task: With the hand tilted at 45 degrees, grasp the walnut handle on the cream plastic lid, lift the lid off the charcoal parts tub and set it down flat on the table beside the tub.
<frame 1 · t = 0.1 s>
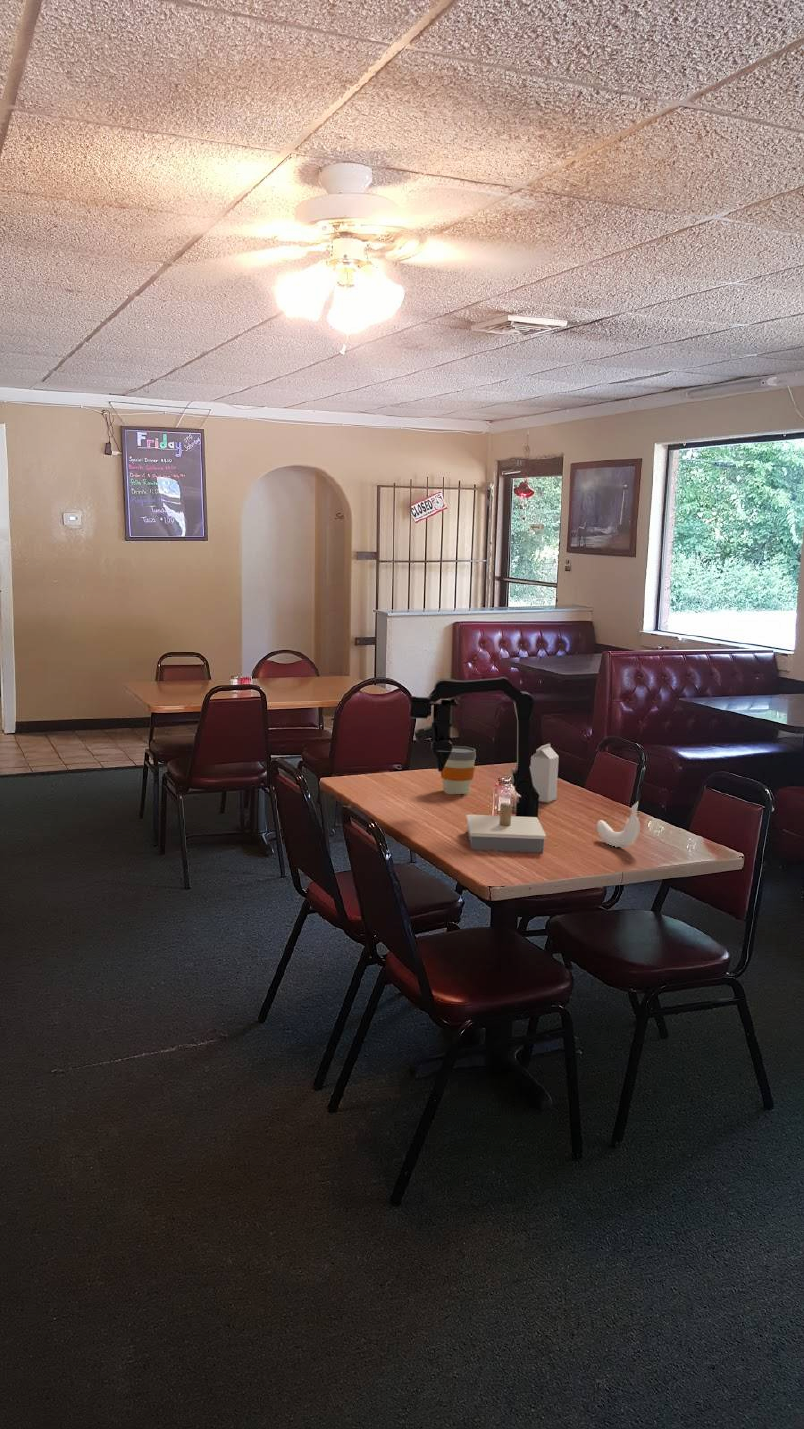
hand: (439, 768, 336), 15 cm above the table, tool pointing down, fingers open, 9 cm apart
white shrimp: (614, 846, 308), on the table
milk carton: (542, 800, 364), on the table
reusable coffee cup: (456, 792, 370), on the table
tub lid: (504, 832, 308), point 3 cm above the table, touching parts tub
parts tub: (504, 841, 308), on the table
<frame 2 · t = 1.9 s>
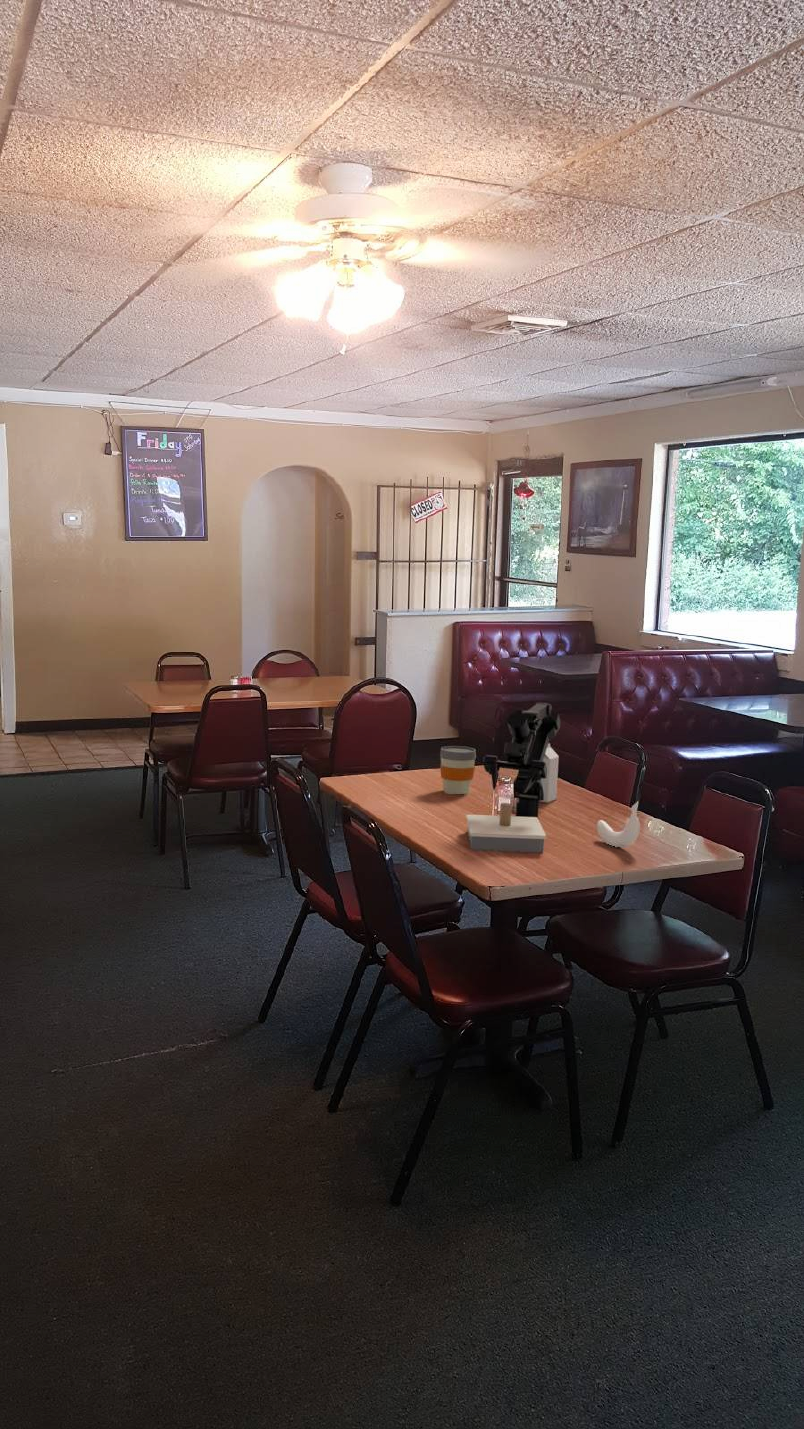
hand: (508, 790, 314), 13 cm above the table, tool tilted 45°, fingers open, 9 cm apart
nothing on the table moved.
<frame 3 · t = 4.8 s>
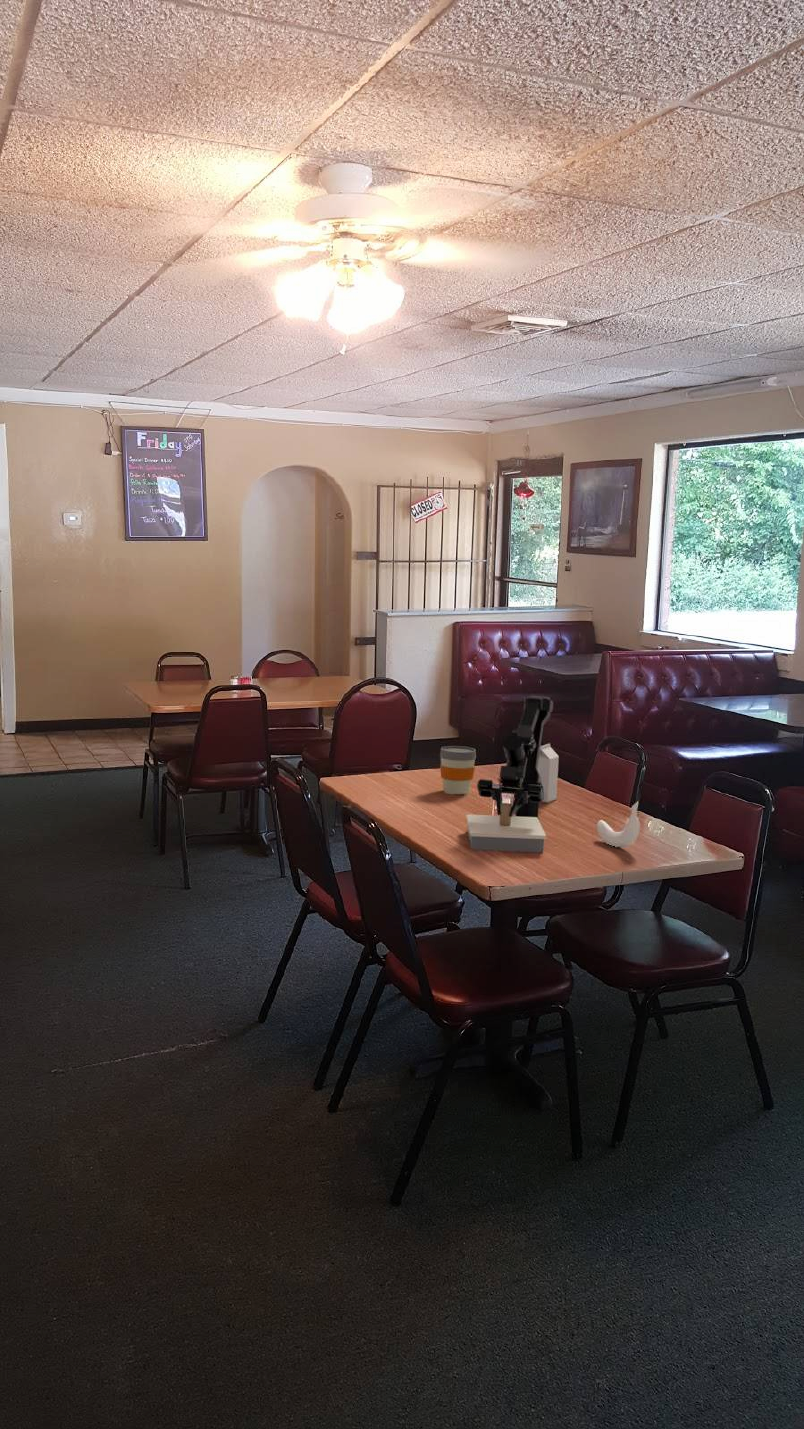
hand: (504, 815, 306), 8 cm above the table, tool tilted 45°, fingers closed on tub lid, 3 cm apart
tub lid: (504, 832, 308), point 3 cm above the table, touching gripper, parts tub
everything else where it was.
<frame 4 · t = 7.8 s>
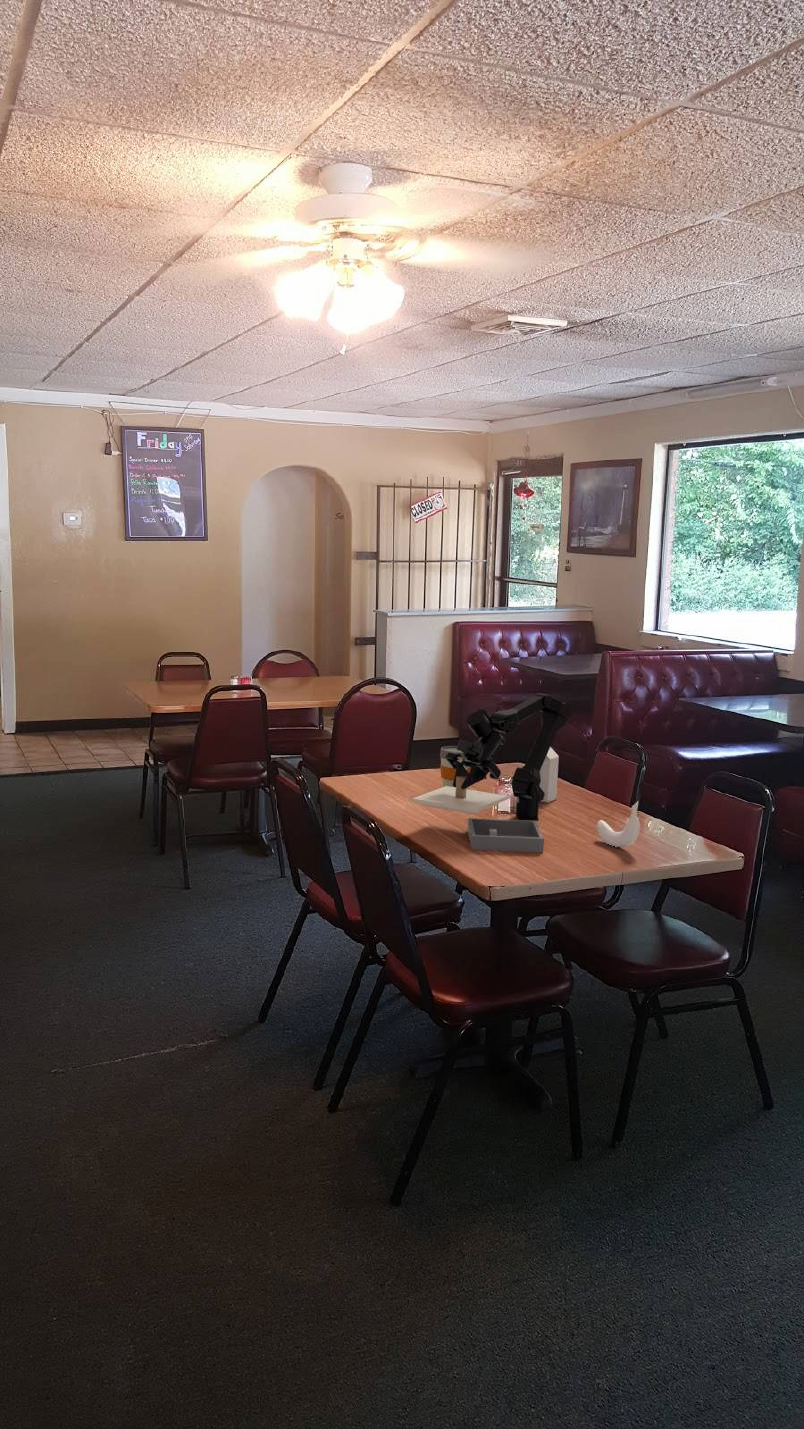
hand: (457, 787, 315), 13 cm above the table, tool tilted 45°, fingers closed on tub lid, 3 cm apart
tub lid: (460, 804, 317), point 8 cm above the table, touching gripper
everything else where it was.
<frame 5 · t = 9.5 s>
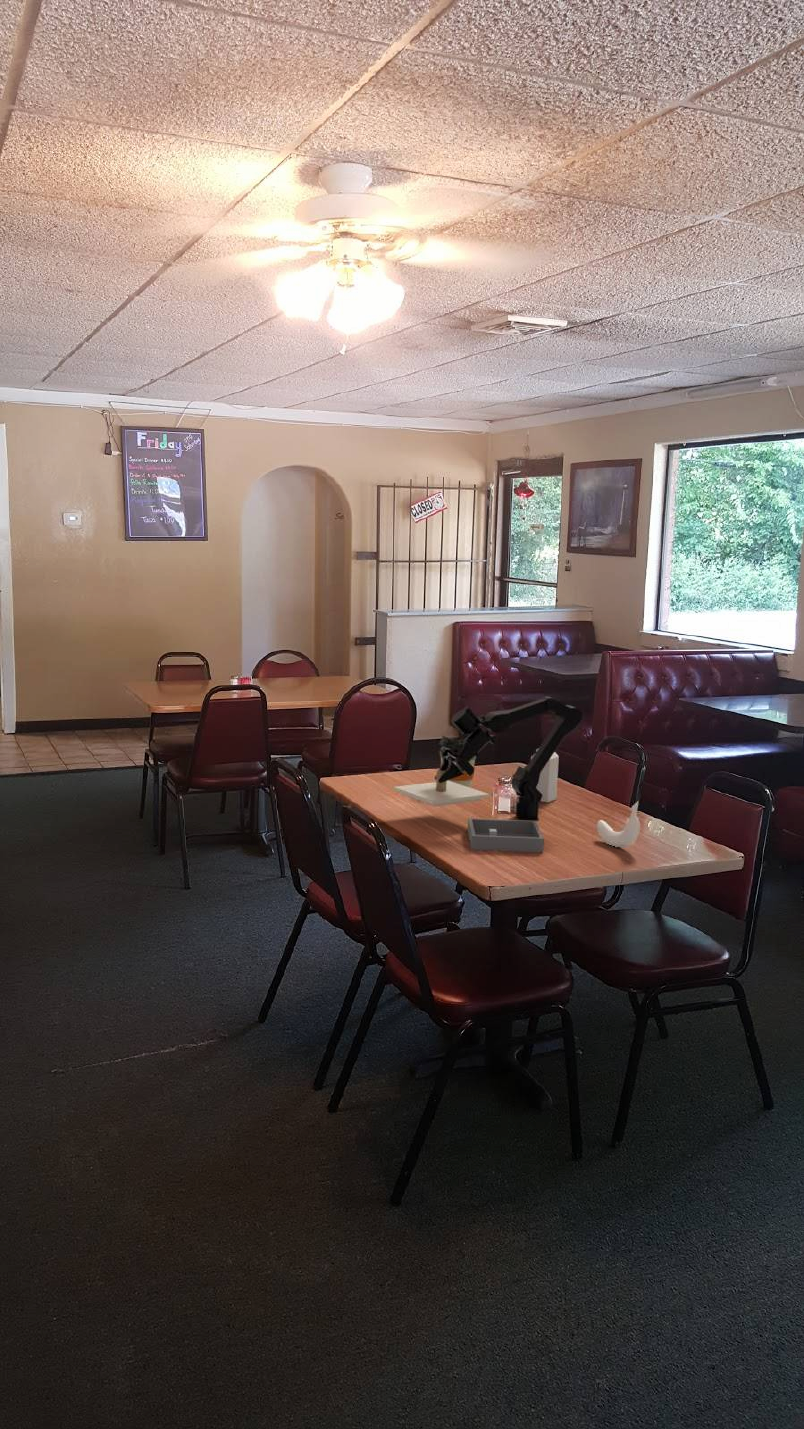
hand: (437, 780, 328), 12 cm above the table, tool tilted 45°, fingers closed on tub lid, 3 cm apart
tub lid: (440, 797, 329), point 7 cm above the table, touching gripper
everything else where it was.
when the fingers open (7 cm above the table, at t = 10.9 s): tub lid drops 2 cm, on the table.
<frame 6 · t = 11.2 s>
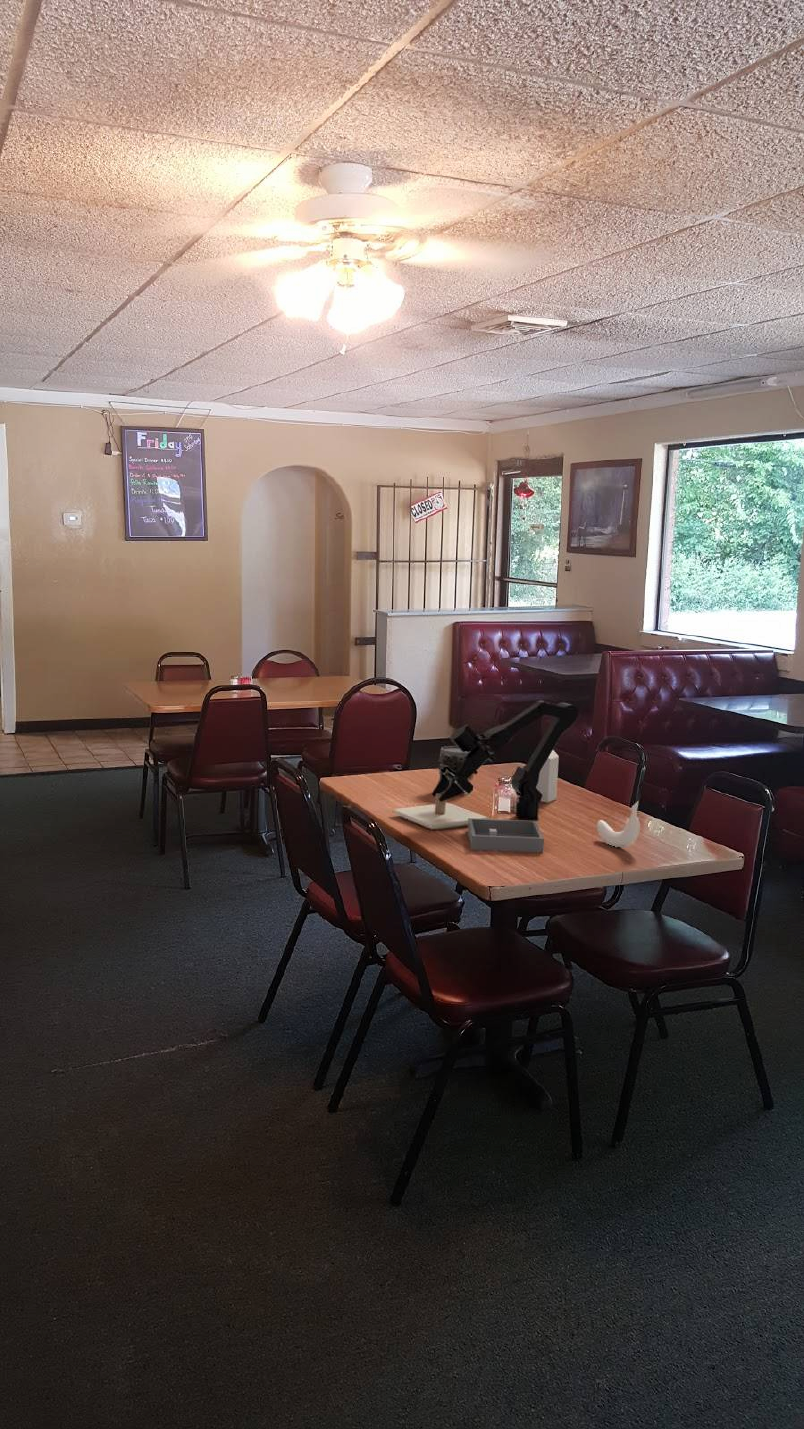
hand: (436, 798, 328), 7 cm above the table, tool tilted 45°, fingers open, 7 cm apart
tub lid: (439, 820, 330), on the table
everything else where it was.
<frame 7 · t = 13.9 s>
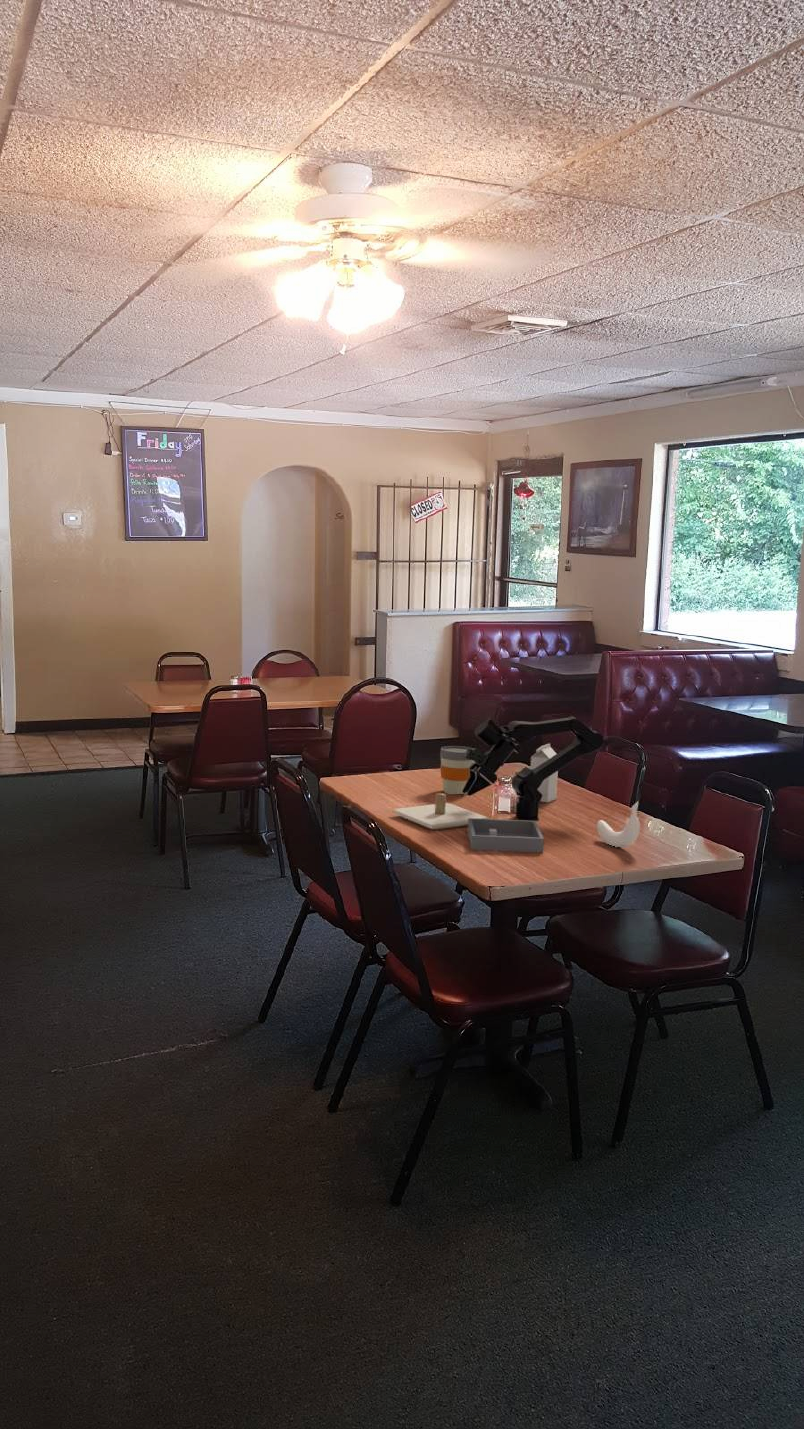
hand: (465, 793, 331), 8 cm above the table, tool tilted 40°, fingers open, 9 cm apart
nothing on the table moved.
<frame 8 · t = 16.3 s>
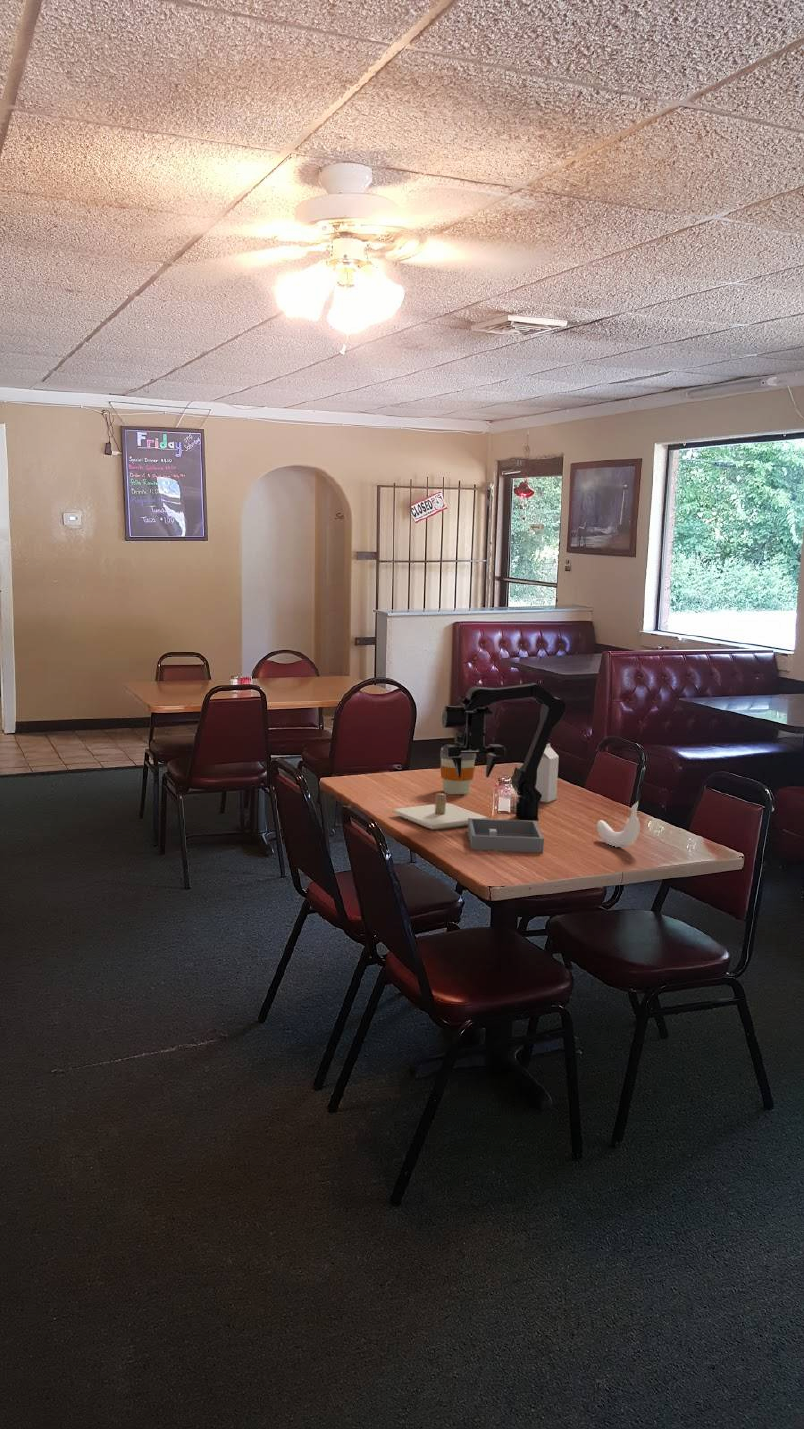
hand: (473, 777, 332), 13 cm above the table, tool pointing down, fingers open, 9 cm apart
nothing on the table moved.
at the end: tub lid inside the target area (0.1 cm from its centre), on the table; tub lid tilted 0°; tub lid touching table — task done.
